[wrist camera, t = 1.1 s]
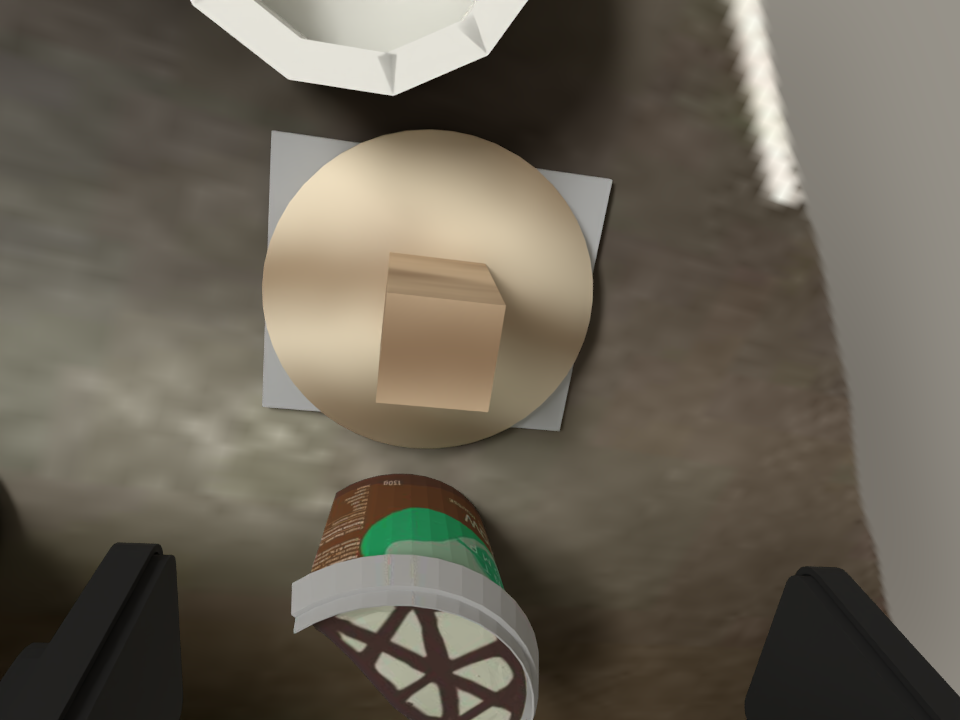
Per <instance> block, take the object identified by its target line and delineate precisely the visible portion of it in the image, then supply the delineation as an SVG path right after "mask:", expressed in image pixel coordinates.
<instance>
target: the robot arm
mask: <svg viewBox="0 0 960 720" xmlns="http://www.w3.org/2000/svg"><path fill="white" fill-rule="evenodd" d="M182 703H183V685H182V667H181V648H180V630H179V611H178V592H177V574H176V561H175V557H174V556H173V555H163V550H162V547H161V545H159V544H145V543H116V544H114V545H113V546H112V547H111V548H110V550H109V551H108V553H107V554H106V556H105V557H104V559H103V561H102V562H101V564H100V565H99V567H98V568H97V570H96V571H95V573H94V574H93V576H92V578H91V579H90V581H89V582H88V584H87V585H86V587H85V588H84V590H83V592H82V593H81V595H80V596H79V598H78V599H77V601H76V602H75V604H74V605H73V607H72V609H71V610H70V612H69V613H68V615H67V616H66V618H65V619H64V621H63V623H62V624H61V626H60V627H59V629H58V630H57V632H56V633H55V635H54V636H53V638H52V640H51V641H50V643H31V644H30V645H28V646H27V647H25V648H24V649H23V651H22V652H21V653H20V654H19V655H18V656H17V658H16V659H15V660H14V662H13V663H12V665H11V666H10V668H9V669H8V671H7V672H6V674H5V675H4V676H3V678H2V679H1V681H0V720H180V715H181V710H182ZM745 714H746V718H747V720H960V697H959V696H958V694H957V693H956V692H955V691H954V690H953V689H952V688H951V687H950V686H949V685H948V684H947V683H946V681H944V679H943V678H942V677H941V676H940V675H939V674H938V673H937V671H936V670H935V669H934V668H933V667H932V666H931V665H930V664H929V663H928V662H927V660H925V658H924V657H923V656H922V655H921V654H920V653H919V652H918V651H917V649H916V648H914V646H913V645H912V644H911V643H910V642H909V641H908V640H907V638H905V636H904V635H903V634H902V633H901V632H900V631H899V630H898V628H897V627H896V626H895V625H894V624H893V623H892V622H891V621H890V620H889V619H888V617H887V616H886V615H885V614H884V613H883V612H882V611H881V610H880V609H879V608H878V606H877V605H876V604H875V603H874V602H873V601H872V600H871V599H870V598H869V597H868V595H867V594H866V593H865V592H864V591H863V590H862V589H861V588H860V587H859V586H858V584H857V583H856V582H855V581H854V580H853V579H852V578H851V577H850V576H849V575H848V574H847V573H846V572H845V571H844V570H843V569H840V568H837V567H808V566H806V567H801V568H800V569H799V570H798V571H797V573H796V575H795V576H791V577H790V578H789V579H788V581H787V582H786V585H785V588H784V591H783V594H782V596H781V599H780V602H779V605H778V608H777V610H776V613H775V616H774V619H773V622H772V625H771V627H770V630H769V633H768V636H767V639H766V642H765V644H764V647H763V650H762V653H761V656H760V658H759V661H758V664H757V667H756V670H755V673H754V675H753V678H752V681H751V684H750V687H749V689H748V692H747V695H746V699H745Z"/></svg>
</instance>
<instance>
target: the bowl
mask: <svg viewBox="0 0 960 720" xmlns="http://www.w3.org/2000/svg"><path fill="white" fill-rule="evenodd" d="M190 1H191V3H192V5H193V6H194V7H196V8H197V9H198V10H200V11H201V12H202V13H203V14H205V15H206V16H207V17H209V18H210V19H211V20H212V21H214V22H215V23H216V24H218V25H219V26H220V27H221V28H223V29H224V30H225V31H227V32H228V33H229V34H230V35H232V36H233V37H234V38H236V39H237V40H238V41H239V42H241V43H242V44H243V45H245V46H246V47H247V48H248V49H250V50H251V51H252V52H254V53H255V54H256V55H257V56H259V57H260V58H261V59H263V60H264V61H265V62H266V63H268V64H269V65H270V66H272V67H273V68H274V69H275V70H277V71H278V72H279V73H281V74H282V75H283V76H284V77H286V78H287V79H289V80H295V81H301V82H307V83H314V84H320V85H327V86H333V87H340V88H346V89H352V90H359V91H365V92H372V93H378V94H384V95H391V96H394V95H397V94H399V93H401V92H404V91H406V90H408V89H411V88H413V87H415V86H418V85H420V84H422V83H425V82H427V81H429V80H432V79H434V78H436V77H439V76H441V75H443V74H446V73H448V72H450V71H452V70H455V69H457V68H459V67H462V66H464V65H466V64H469V63H471V62H473V61H476V60H478V59H480V58H483V57H485V56H487V55H489V53H490V52H491V50H492V49H493V48H494V46H495V45H496V44H497V42H498V41H499V39H500V38H501V37H502V35H503V34H504V32H505V31H506V30H507V28H508V27H509V26H510V24H511V23H512V21H513V20H514V19H515V17H516V16H517V15H518V13H519V12H520V10H521V9H522V8H523V6H524V5H525V3H526V2H527V1H528V0H190Z"/></svg>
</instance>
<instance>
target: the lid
mask: <svg viewBox="0 0 960 720" xmlns="http://www.w3.org/2000/svg"><path fill="white" fill-rule="evenodd" d="M262 294H263V309H264V315H265V321H266V326H267V330H268V333H269V336H270V339H271V342H272V345H273V348H274V350H275V352H276V354H277V356H278V358H279V361H280V363H281V365H282V367H283V368H284V370H285V371H286V373H287V374H288V376H289V377H290V379H291V380H292V382H293V383H294V384H295V386H296V387H297V388H298V389H299V390H300V391H301V393H302V394H303V395H304V396H305V397H306V398H307V399H308V400H309V401H310V402H311V403H312V404H313V405H314V406H315V407H316V408H318V409H319V410H320V411H321V412H322V413H323V414H325V415H326V416H328V417H329V418H331V419H332V420H333V421H335V422H336V423H338V424H339V425H341V426H343V427H345V428H347V429H349V430H351V431H353V432H354V433H356V434H359V435H362V436H364V437H367V438H369V439H372V440H375V441H378V442H382V443H386V444H390V445H394V446H401V447H409V448H430V449H434V448H445V447H454V446H459V445H463V444H468V443H473V442H476V441H479V440H482V439H484V438H487V437H490V436H493V435H495V434H497V433H499V432H501V431H503V430H505V429H508V428H509V427H511V426H513V425H514V424H516V423H517V422H519V421H521V420H522V419H524V418H525V417H527V416H528V415H529V414H530V413H532V412H533V411H534V410H535V409H537V408H538V407H539V406H540V405H541V404H542V403H543V402H544V401H545V400H546V399H547V398H548V397H549V396H550V395H551V394H552V393H553V392H554V391H555V390H556V389H557V387H558V386H559V385H560V383H561V382H562V381H563V379H564V378H565V377H566V376H567V374H568V372H569V370H570V369H571V367H572V365H573V364H574V362H575V360H576V358H577V356H578V354H579V351H580V349H581V347H582V344H583V342H584V340H585V336H586V332H587V329H588V325H589V322H590V316H591V309H592V302H593V277H592V269H591V260H590V256H589V253H588V249H587V245H586V241H585V238H584V236H583V233H582V231H581V229H580V226H579V224H578V221H577V219H576V218H575V216H574V214H573V213H572V211H571V209H570V207H569V206H568V204H567V202H566V201H565V200H564V198H563V197H562V196H561V195H560V193H559V192H558V191H557V189H556V188H555V187H554V186H553V184H552V183H550V182H549V181H548V180H547V179H546V178H545V177H544V176H543V175H542V174H541V173H540V172H539V171H538V170H537V169H536V168H534V167H533V166H532V165H530V164H529V163H527V162H526V161H525V160H523V159H522V158H521V157H519V156H518V155H516V154H514V153H512V152H510V151H508V150H507V149H505V148H503V147H501V146H499V145H497V144H495V143H493V142H490V141H487V140H485V139H482V138H479V137H477V136H474V135H469V134H465V133H460V132H456V131H449V130H437V129H419V130H405V131H400V132H395V133H390V134H385V135H382V136H379V137H376V138H373V139H370V140H367V141H364V142H362V143H360V144H358V145H356V146H354V147H352V148H350V149H348V150H346V151H344V152H342V153H341V154H339V155H338V156H337V157H335V158H334V159H332V160H331V161H329V162H328V163H327V164H325V165H324V166H323V167H322V168H321V169H319V170H318V171H317V172H316V173H315V174H314V175H313V176H312V177H311V178H310V179H309V180H308V181H307V182H306V183H305V184H304V185H303V186H302V187H301V188H300V190H299V191H298V192H297V193H296V195H295V196H294V197H293V199H292V200H291V201H290V202H289V204H288V206H287V207H286V209H285V211H284V213H283V214H282V216H281V218H280V219H279V221H278V223H277V226H276V228H275V231H274V233H273V236H272V238H271V240H270V243H269V247H268V251H267V255H266V259H265V263H264V273H263V282H262Z"/></svg>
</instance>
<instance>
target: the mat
mask: <svg viewBox="0 0 960 720" xmlns="http://www.w3.org/2000/svg"><path fill="white" fill-rule="evenodd" d="M358 144H360V143H358V142H351V141H344V140H337V139H330V138H323V137H316V136H309V135H302V134H295V133H288V132H281V131H275V130H273V131H272V135H271V164H270V194H269V223H268V247H269V243H270V240H271V238H272V236H273V233H274V231H275V228H276V226H277V223H278V221H279V219H280V218H281V216H282V214H283V213H284V211H285V209H286V207H287V206H288V204H289V202H290V201H291V200H292V199H293V197H294V196H295V195H296V193H297V192H298V191H299V190H300V188H301V187H302V186H303V185H304V184H305V183H306V182H307V181H308V180H309V179H310V178H311V177H312V176H313V175H314V174H315V173H316V172H317V171H318V170H319V169H321V168H322V167H323V166H324V165H325V164H327V163H328V162H329V161H331V160H332V159H334V158H335V157H337V156H338V155H339V154H341V153H342V152H344V151H346V150H348V149H350V148H352V147H354V146H356V145H358ZM536 169H537V170H538V171H539V172H540V173H541V174H542V175H543V176H544V177H545V178H546V179H547V180H548V181H549V182H550V183H552V184H553V186H554V187H555V188H556V189H557V191H558V192H559V193H560V195H561V196H562V197H563V198H564V200H565V201H566V202H567V204H568V206H569V207H570V209H571V211H572V213H573V214H574V216H575V218H576V219H577V221H578V224H579V226H580V229H581V231H582V233H583V236H584V238H585V241H586V245H587V249H588V253H589V256H590V260H591V269H592V275H593V270H594V265H595V260H596V256H597V251H598V246H599V242H600V237H601V232H602V227H603V223H604V218H605V213H606V208H607V204H608V199H609V194H610V189H611V185H612V180H611V179H608V178H601V177H594V176H587V175H580V174H573V173H566V172H559V171H552V170H545V169H538V168H536ZM573 365H574V364H573ZM573 365H572V367H571V369H570V370H569V372H568V374H567V376H566V377H565V378H564V379H563V381H562V382H561V383H560V385H559V386H558V387H557V389H556V390H555V391H554V392H553V393H552V394H551V395H550V396H549V397H548V398H547V399H546V400H545V401H544V402H543V403H542V404H541V405H540V406H539V407H538V408H537V409H535V410H534V411H533V412H532V413H530V414H529V415H528V416H527V417H525V418H524V419H522V420H521V421H519V422H517V423H516V424H514V425H513V426H511V427H516V428H528V429H540V430H552V431H560V426H561V421H562V417H563V412H564V407H565V402H566V398H567V393H568V388H569V383H570V379H571V374H572V369H573ZM262 407H272V408H284V409H296V410H308V411H320V410H319V409H318V408H316V407H315V406H314V405H313V404H312V403H311V402H310V401H309V400H308V399H307V398H306V397H305V396H304V395H303V394H302V393H301V391H300V390H299V389H298V388H297V387H296V386H295V384H294V383H293V382H292V380H291V379H290V377H289V376H288V374H287V373H286V371H285V370H284V368H283V367H282V365H281V363H280V361H279V358H278V356H277V354H276V352H275V350H274V348H273V345H272V342H271V339H270V336H269V333H268V330H267V326H266V321H265V341H264V370H263V400H262Z"/></svg>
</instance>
